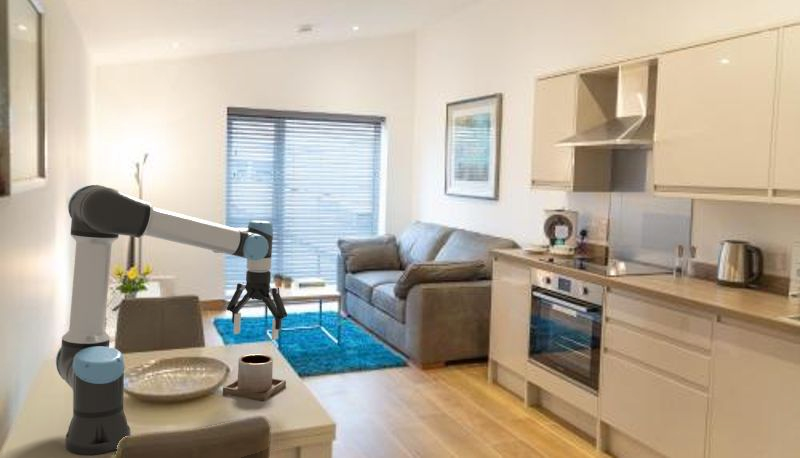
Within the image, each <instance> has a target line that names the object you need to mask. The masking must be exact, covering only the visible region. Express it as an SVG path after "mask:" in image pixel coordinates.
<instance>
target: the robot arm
mask: <svg viewBox="0 0 800 458" xmlns="http://www.w3.org/2000/svg"><path fill="white" fill-rule="evenodd" d="M67 207H68V209H67V210H68V214H69V217H70V218H71V223H70V236H71V237H72V238H73V239H74V241H75V252H74V253H75V254H74V265H73V266H74V267H73V280H72V289H71V290H72V291H71V302H70V304H71V305H70V314H69V316H70V317H69V328H68V331H67V332H65V333H64V334H63V335H62V337H61V347H60V348H59V349H58V351H57V354H56V356H55V357H56V358H55V367H56V370H57V373H58V375H59V376H60V377H61V379H63V380H64V381H65V383H66V384H67V385H68V386H69V387H70V388H71V389H72V395H73V396H72V409H73V410H72V411H73V413H72V417H71V421H70V423H69V426H68V430H67V433H66V434H65V439H64V442H65V443H64V445H65V448H66V450H67V451H68V452H70V453H73V454H76V455H85V456H86V455H87V456H89V455H100V454H107V453H110V452H114V451H117V450H116V448H117V445H118V443H119V441H120V440H121V439H122V438H123V437H125V436H130V437H131V428H130V426H129V424H128V421H127V416H126V414H125V410H124V396H125V395H124V394H125V393H124V392H125V391H124V389H125V387H124V386H125V383H124V381H125V369H126V366H125V361H124V356H123V353H122V352H121V351H120V350H119V349H116V348H114V347H110V341H111V340H110V338H111V336H110V335H109V334H108V333H107V332H106V331H105V327H106V318H107V317H106V316H107V315H106V314H107V305H108V303H107V302H108V293H109V292H108V291H109V283H110V281H109V280H110V279H109V278H110V268H111V260H112V259H111V257H112V256H111V255H112V248H113V247H112V244H113V243H114V242H115V241H117V240H118V239H119V235H120V236H121V235H122V236H129V237H133V238H138V239H139V238H143V237H144V236H147V237H151V238H155V239H160V240H164V241H169V242H173V243H174V242H175V243H176V244H177V243H179V244H182V245H188V246H191V247H196V248H199V249H205V250H209V251H212V252H213V253H215V254H216V253H217V254H227V255H231V256H234V257H240V258H243V259H246V269H247V270H246V276H245V281H246V283H244V282H243V281H242V282H238V283H237V284H236V289H235V292H234V293H233V295H232V298H231V299H230V301H229V303H228V305H227V307H226V310H227V311H228V312H231V313H232V314H231V323H232V324H233V335H238V334H240V333H241V327H242V326H241V322H242V312H240V311H241V309H243V307H244V306H245V305H246V304H247V303H248V301H250V300H257V301H262V302H263V303H264V304H265V306H267V308H268V310H269V311H270V313H271V315H272V316H273V319H272V325H271V326H272V328H271V340H272V341H276V340H278V339H279V330H280V329H281V328H282V319H285V318H287V317H288V312H287V310H286V308H285V305H284V302H283V300H282V297H281V295H280V287H279V286H276V287H271V286H270V285H271V275H272V271H271V269H272V255H273V254H272V253H273V252H272V251H273V238H274V232H273V231H274V228H273V224H272V222H270V221H268V220H251V221H249V222H248V225H247V227H232V226H231V227H230V226H227V225H223V224H219V223H216V222H212V221H208V220H204V219H200V218H197V217H192V216H189V215H185V214H181V213H177V212H172V211H169V210H166V209H162V208H158V207H154V206H152V204H151V203H150V202H149V201H146V200H142V199H140V198H138V197H137V198H136V197H134V196H131V195H128V194H127V193H124V192H123V191H119V190H118V189H114V188H111V187H107V186H104V185H99V184H91V185H85V186H83V187H80V188H79V189H77V190H76V191H75V192H73V194H72V195H71V196H70V199H69V201H68V206H67ZM243 291H245V295H244V296H243V297H242V299H240V298H241V296H242V294H243ZM270 294H271V295H270ZM271 296H272V297H271ZM272 298H273V300H272ZM239 300H240V301H239Z"/></svg>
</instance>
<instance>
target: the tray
mask: <svg viewBox="0 0 800 458" xmlns="http://www.w3.org/2000/svg"><path fill="white" fill-rule="evenodd" d="M237 384H238V378H237V379H236V380H234V381H232V382H230V383H228V384H227V385H225V386H223V387H222V394H224V395H228V396H233V397H240V398H245V399H251V400H255V401H261V402H265V401H266V400H268V399H269V398H270V397H272V396H274V395H275V394H277V393H278V392H280V391H282V390H283V389H284V388H286V386H287V380H286V379H285V380H284V379H279V378H273V377H272V387H271V389H269V390H268V391H266V392H262V393H257V392H251V391H245V390H240V389H238V386H237Z"/></svg>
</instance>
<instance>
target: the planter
mask: <svg viewBox="0 0 800 458" xmlns="http://www.w3.org/2000/svg"><path fill="white" fill-rule="evenodd" d="M273 360H274V359H273V357H272V356H269V355H267V354H262V353H261V354H259V353H256V354H255V353H251V354H246V355H242V356H241V357H239V358H238V362H237V364H238V365H237V366H238V368H237V379H238V384H237V386H238V389H240V390H245V391H251V392H257V393H262V392H266V391H268V390H269V389H271V387H272V378H273V370H274V369H273V367H274V366H273V365H274V361H273Z"/></svg>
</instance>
